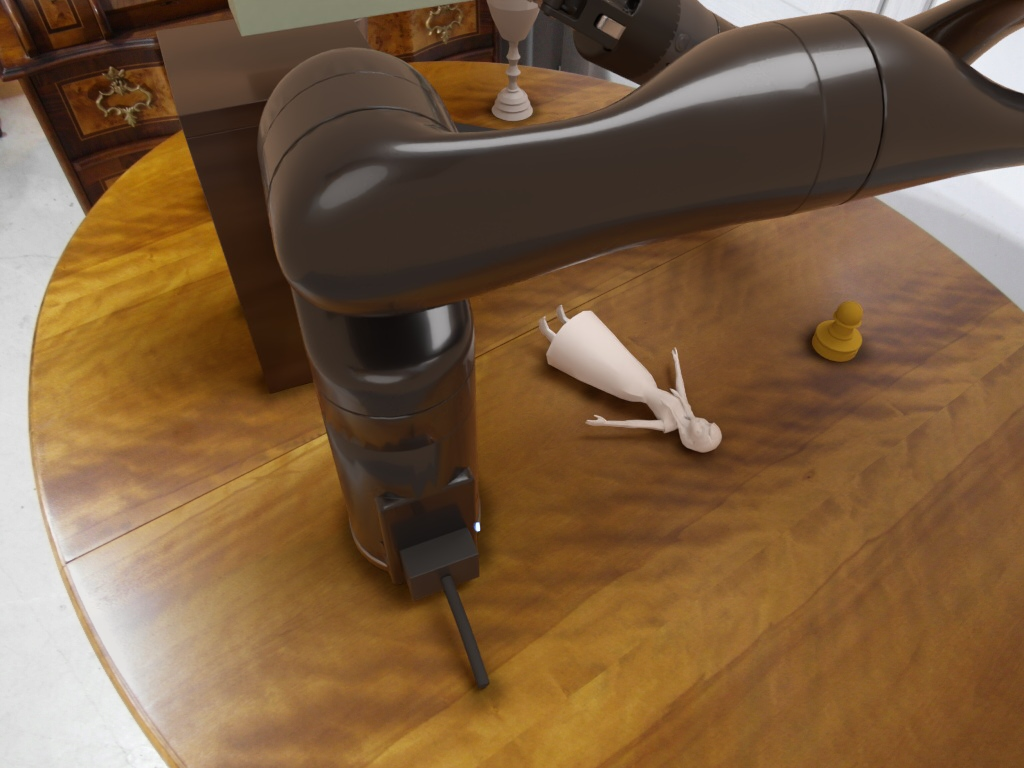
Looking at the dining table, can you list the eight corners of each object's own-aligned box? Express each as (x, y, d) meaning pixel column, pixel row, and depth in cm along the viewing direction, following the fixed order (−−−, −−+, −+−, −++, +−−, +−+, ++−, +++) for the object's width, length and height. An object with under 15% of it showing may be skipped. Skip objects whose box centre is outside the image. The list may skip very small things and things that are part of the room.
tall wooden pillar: (419, 351, 68) (391, 77, 49) (269, 393, 64) (177, 115, 45) (380, 268, 75) (342, 2, 56) (244, 302, 71) (155, 30, 53)
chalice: (477, 121, 93) (475, -39, 80) (488, 93, 98) (487, -63, 84) (537, 127, 93) (545, -33, 79) (545, 99, 97) (554, -57, 84)
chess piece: (812, 326, 71) (829, 284, 67) (856, 335, 70) (877, 293, 66) (811, 356, 68) (829, 315, 64) (857, 365, 67) (878, 324, 64)
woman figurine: (596, 269, 68) (768, 388, 61) (589, 305, 72) (751, 421, 64) (502, 335, 63) (679, 474, 55) (499, 370, 66) (665, 505, 59)
